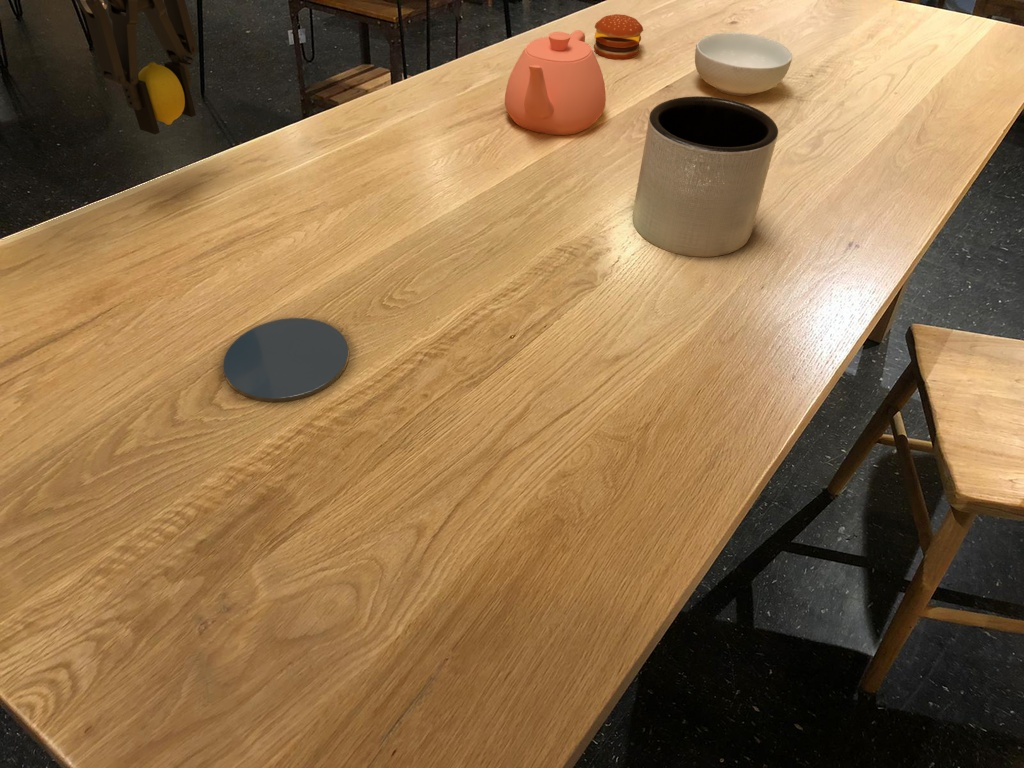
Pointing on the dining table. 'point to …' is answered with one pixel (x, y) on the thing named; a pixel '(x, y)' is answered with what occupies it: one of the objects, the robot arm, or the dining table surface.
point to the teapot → (556, 85)
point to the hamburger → (617, 36)
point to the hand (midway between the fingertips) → (168, 121)
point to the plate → (286, 360)
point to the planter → (702, 175)
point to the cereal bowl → (741, 62)
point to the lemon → (163, 92)
